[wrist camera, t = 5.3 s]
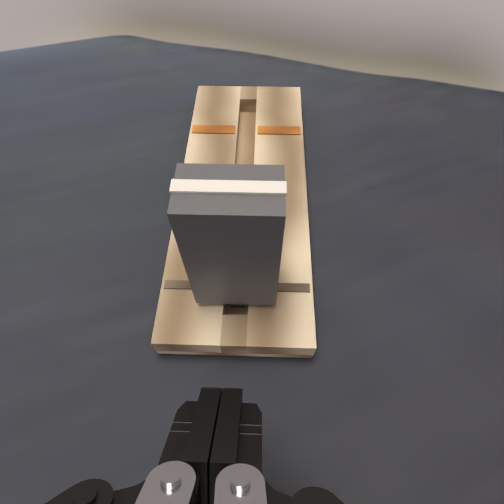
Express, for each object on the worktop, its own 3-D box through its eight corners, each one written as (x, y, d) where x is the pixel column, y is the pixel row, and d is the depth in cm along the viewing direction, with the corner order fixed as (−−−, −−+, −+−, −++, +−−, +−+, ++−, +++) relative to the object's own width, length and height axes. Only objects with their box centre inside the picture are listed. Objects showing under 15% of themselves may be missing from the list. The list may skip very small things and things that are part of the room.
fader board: (158, 353, 24) (150, 342, 22) (200, 103, 38) (198, 84, 36) (312, 358, 24) (316, 347, 22) (297, 104, 37) (300, 86, 36)
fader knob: (198, 313, 24) (165, 211, 15) (203, 273, 26) (175, 160, 17) (275, 315, 24) (287, 214, 15) (275, 275, 26) (286, 162, 17)
